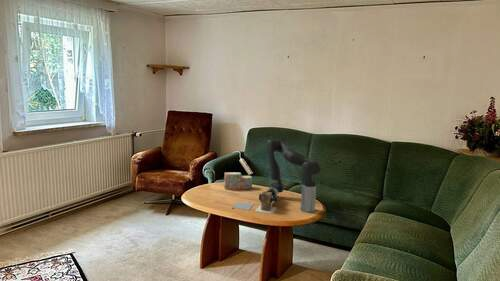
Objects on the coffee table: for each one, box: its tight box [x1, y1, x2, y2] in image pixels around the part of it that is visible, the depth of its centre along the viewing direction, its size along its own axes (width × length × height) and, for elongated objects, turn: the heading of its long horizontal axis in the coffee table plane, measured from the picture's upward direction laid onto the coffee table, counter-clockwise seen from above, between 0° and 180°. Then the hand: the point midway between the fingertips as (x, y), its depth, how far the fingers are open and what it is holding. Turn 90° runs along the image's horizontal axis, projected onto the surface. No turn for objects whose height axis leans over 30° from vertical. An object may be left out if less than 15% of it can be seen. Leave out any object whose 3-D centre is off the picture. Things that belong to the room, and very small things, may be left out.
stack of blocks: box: [223, 171, 253, 190], centre depth 293 cm, size 21×6×12 cm, turn 102°
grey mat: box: [231, 201, 255, 211], centre depth 250 cm, size 12×12×1 cm
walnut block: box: [260, 191, 272, 211], centre depth 245 cm, size 6×6×11 cm
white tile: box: [255, 204, 278, 214], centre depth 245 cm, size 12×12×1 cm
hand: (265, 200), depth 242 cm, fingers closed on walnut block, 5 cm apart
